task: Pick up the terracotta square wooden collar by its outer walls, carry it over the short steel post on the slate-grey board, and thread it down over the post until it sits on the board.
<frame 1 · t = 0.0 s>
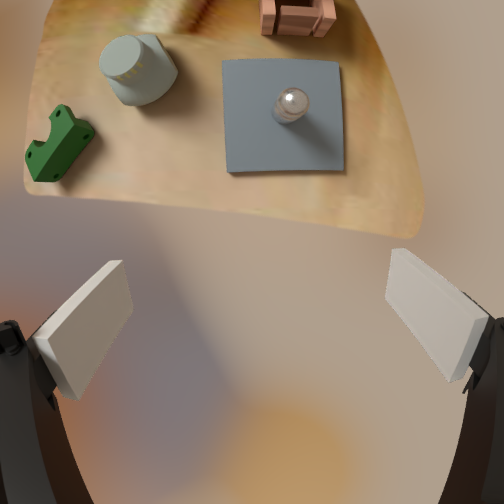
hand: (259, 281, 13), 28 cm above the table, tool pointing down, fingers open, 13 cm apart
post board: (283, 113, 36), on the table
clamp: (67, 142, 36), on the table
steel post: (289, 106, 30), on the post board, point 6 cm above the table
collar: (290, 11, 30), on the table
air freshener: (147, 74, 33), on the table
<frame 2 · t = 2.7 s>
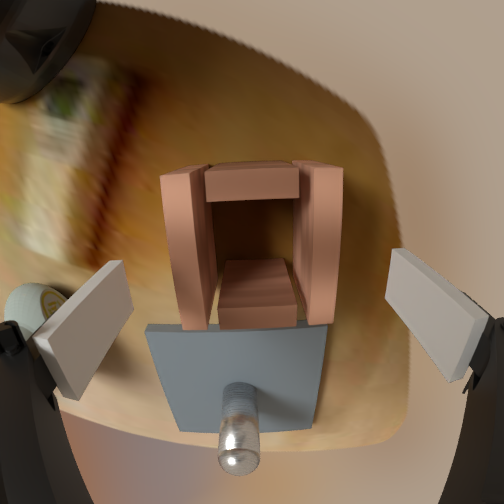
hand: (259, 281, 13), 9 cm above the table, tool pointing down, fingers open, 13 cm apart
post board: (240, 384, 27), on the table
steel post: (239, 430, 22), on the post board, point 6 cm above the table
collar: (253, 222, 21), on the table
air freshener: (60, 317, 25), on the table
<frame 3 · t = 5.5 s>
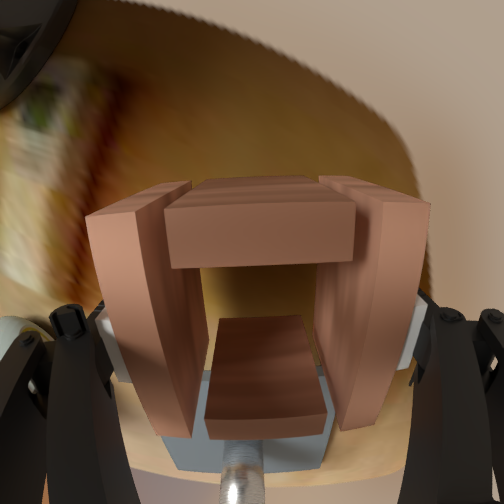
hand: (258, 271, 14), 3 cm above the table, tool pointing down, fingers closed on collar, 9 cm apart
post board: (243, 429, 23), on the table
steel post: (242, 481, 17), on the post board, point 6 cm above the table
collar: (258, 267, 15), point 3 cm above the table, touching gripper
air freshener: (45, 351, 21), on the table
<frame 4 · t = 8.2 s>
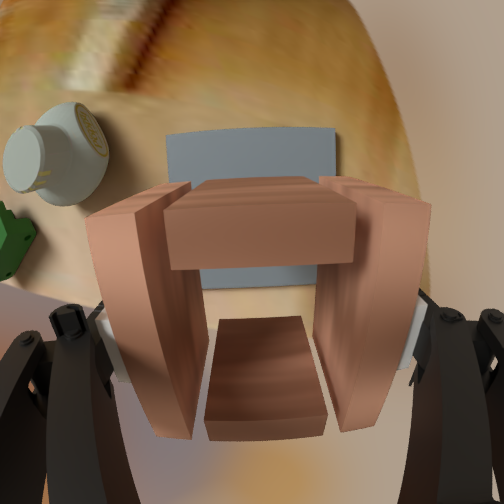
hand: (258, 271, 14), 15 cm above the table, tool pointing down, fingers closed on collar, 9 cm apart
post board: (253, 209, 28), on the table
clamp: (13, 235, 29), on the table
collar: (258, 267, 14), point 15 cm above the table, touching gripper
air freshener: (79, 152, 26), on the table
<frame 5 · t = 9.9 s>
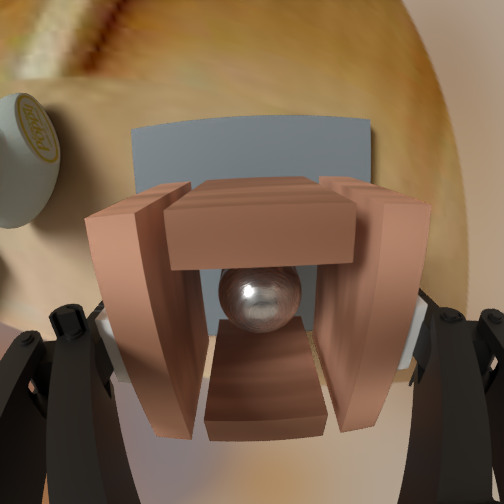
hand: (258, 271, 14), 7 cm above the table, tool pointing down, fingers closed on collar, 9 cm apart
post board: (255, 231, 20), on the table
steel post: (257, 264, 15), on the post board, point 6 cm above the table
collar: (258, 267, 14), point 6 cm above the table, touching gripper
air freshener: (32, 157, 18), on the table
when the fingers open (3 cm above the table, at t = 11.3 s): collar drops 2 cm, resting on post board.
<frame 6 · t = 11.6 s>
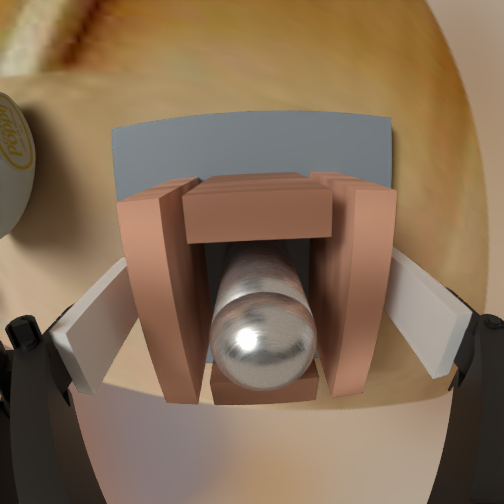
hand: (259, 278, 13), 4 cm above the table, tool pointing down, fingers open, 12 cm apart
post board: (257, 248, 18), on the table
steel post: (260, 295, 12), on the post board, point 6 cm above the table
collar: (257, 253, 16), point 1 cm above the table, touching post board
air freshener: (9, 162, 15), on the table
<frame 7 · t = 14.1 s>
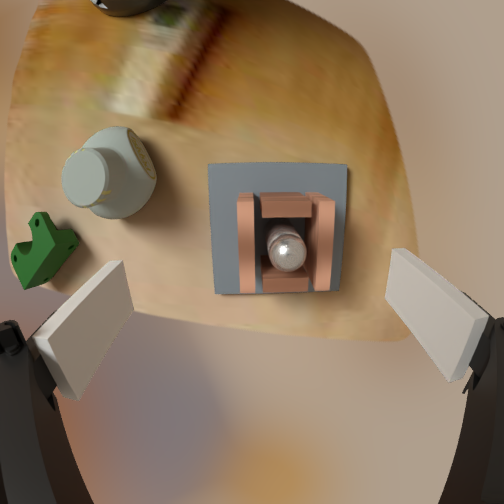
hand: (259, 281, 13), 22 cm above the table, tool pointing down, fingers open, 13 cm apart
post board: (278, 228, 35), on the table
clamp: (52, 243, 35), on the table
steel post: (283, 243, 29), on the post board, point 6 cm above the table
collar: (279, 230, 33), point 1 cm above the table, touching post board
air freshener: (124, 171, 32), on the table
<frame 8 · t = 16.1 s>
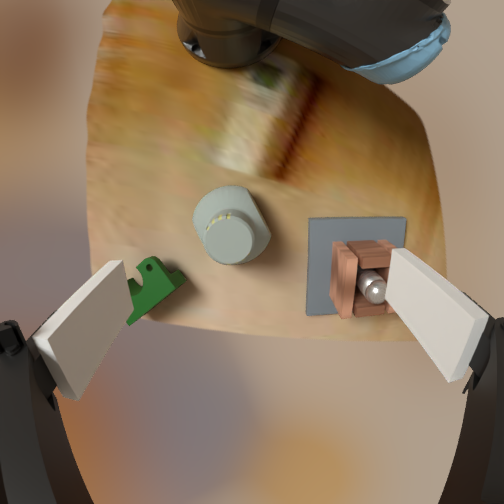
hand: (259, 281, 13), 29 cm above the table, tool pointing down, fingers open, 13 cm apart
post board: (355, 265, 44), on the table
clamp: (152, 280, 45), on the table
steel post: (368, 281, 38), on the post board, point 6 cm above the table
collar: (358, 267, 43), point 1 cm above the table, touching post board
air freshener: (233, 220, 42), on the table
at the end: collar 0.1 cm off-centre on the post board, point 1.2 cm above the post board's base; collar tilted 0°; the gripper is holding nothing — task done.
